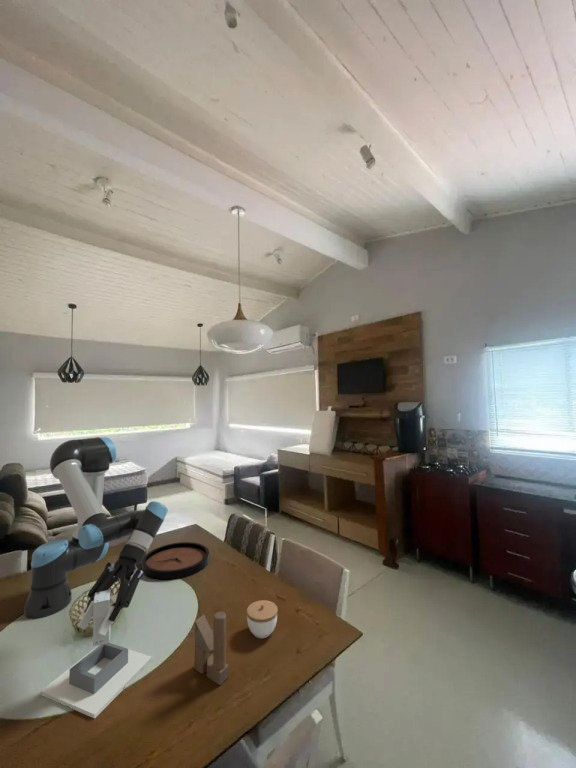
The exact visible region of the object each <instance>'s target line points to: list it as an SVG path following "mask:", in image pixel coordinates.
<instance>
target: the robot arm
mask: <svg viewBox="0 0 576 768" xmlns="http://www.w3.org/2000/svg"><path fill="white" fill-rule="evenodd" d="M116 459H117V449H116V445H115V443H114V442H113V440H112V439H111V438H109V437H106V436H105V437H103V436H102V437H101V436H100V437H99V436H97V437H89V438H81V439H79V438H78V439H70V440H67V441H64V442H62V443H61V444H60V445H58V446H57V447H56V448H55V449H54V451H53V453H52V454H51V457H50V460H49V461H50V462H49V469H50V472H51V474H52V476H53V478H54V479H57V480H58V481H59V483H60V485H61V487H62V489H63V490H64V493H65V495H66V497H67V499H68V502H69V503H70V505H71V508H72V509H73V511H74V514H75V516H76V518H77V526H76V529H75V530H74V531H73V532H72V536H71V540H67V539H66V538H58V539H54V540H51V541H47V542H45V543H42V544H41V545H39V546H38V547H37V548H36V549H35V550H34V551H33V552H32V555H31V562H30V567H31V569H30V591H29V593H28V596H27V599H26V602H25V604H24V606H23V607H24V608H23V614H24V616H25V617H27V618H30V619H37V618H43V617H44V618H45V617H47V616H52V615H54V614H56V613H58V612H60V611H61V610H63V609H65V608H66V607H68V606H69V604H71V602H72V590H71V588H70V585H69V582H68V573H70V572H72V571H73V572H74V571H75V570H77V569H80V568H83V567H85V566H88V565H90V564H91V565H92V564H94V563H96V562H98V561H100V560H102V559H103V558H104V557H105V556H106V555H107V553H108V550H109V545H110V542H112V541H115V540H119V539H122V538H124V537H127V536H128V538H127V540H126V544H125V545H124V546H123V547H122V549H121V551H120V552H119V554H118V555H119V556H118V558H117V560H116V562H114V563H110V562H107V563H106V564H105V567H104V570H103V571H102V573H101V574H100V575H99V577H98V578H97V580H96V581H95V583H94V585H93V586H92V587H91V589H90V590H89V592H88V593H87V597H88V598H89V602H88V603H87V606H86V608H85V609H84V612H83V613H84V614H83V615H82V617H81V619H80V620H79V622H78V624H77V627H78V628H80V629H82V630H86V629H87V627H88V625H89V624H90V621H91V620H92V619H93V602H94V597H95V593H97V592H101V591H105V590H110V588H111V587H112V586H113V585H114V584H115V583H117V582H118V581H120V583H119V587H118V590H117V595H116V599H115V603H112V605H110V610H109V612H108V613H107V615H106V617H105V619H104V621H103V623H102V625H101V627H100V628H99V630H98V632H97V633H99V634H102V635H104V636H105V635H106V633H107V631H108V629H109V627H110V625H112V623H113V622H115V621H116V619H117V617H118V616H119V614H120V612H121V610H122V609H127V608H129V607H130V605H131V601H132V599H133V597H134V594H135V592H136V590H137V588H138V584H139V582H140V580H141V579H142V577H143V576H144V572H143V571H142V569H140V568H139V565H142V561H143V559H144V557H145V555H146V554H147V552H148V551H149V549H150V547H151V546H152V543H153V541H154V540H155V537H156V536H157V534H158V532H159V530H160V529H161V527H162V525H163V523H164V521H165V518H166V516H167V514H168V511H169V510H168V507H167V506H166V505H164V503H161V502H159V501H156V500H153V501H152V500H151V501H149V502H148V504H147V505H146V506H145V508H144V509H142V510H141V509H139V510H129V511H126V512H124V513H123V514H120V515H116V516H113V517H110V518H108V517H107V515H106V513H105V512H104V508H103V500H104V499H103V497H104V490H105V489H104V488H105V486H104V485H105V476H106V475H105V474H106V473H107V472H108V471H109V470H110V464H113V463H114V462H116V461H115V460H116Z"/></svg>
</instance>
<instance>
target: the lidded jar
mask: <svg viewBox="0 0 576 768" xmlns="http://www.w3.org/2000/svg"><path fill="white" fill-rule="evenodd" d="M278 609H279V608H278V606H277V605H276V604H275V602H273V601H271V600H265V599H264V600H263V599H261V600H256V601H254V602H252V603H250V604H249V605H248V607H247V608H246V619H247V626H248V629H249V631H250V632H251V634H252V635H253V636H254V637H256V638H257V639H265V638H268V637H270V635H271V634H272V633H273V632H274V630H275V628H276V626H277V620H278Z"/></svg>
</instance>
